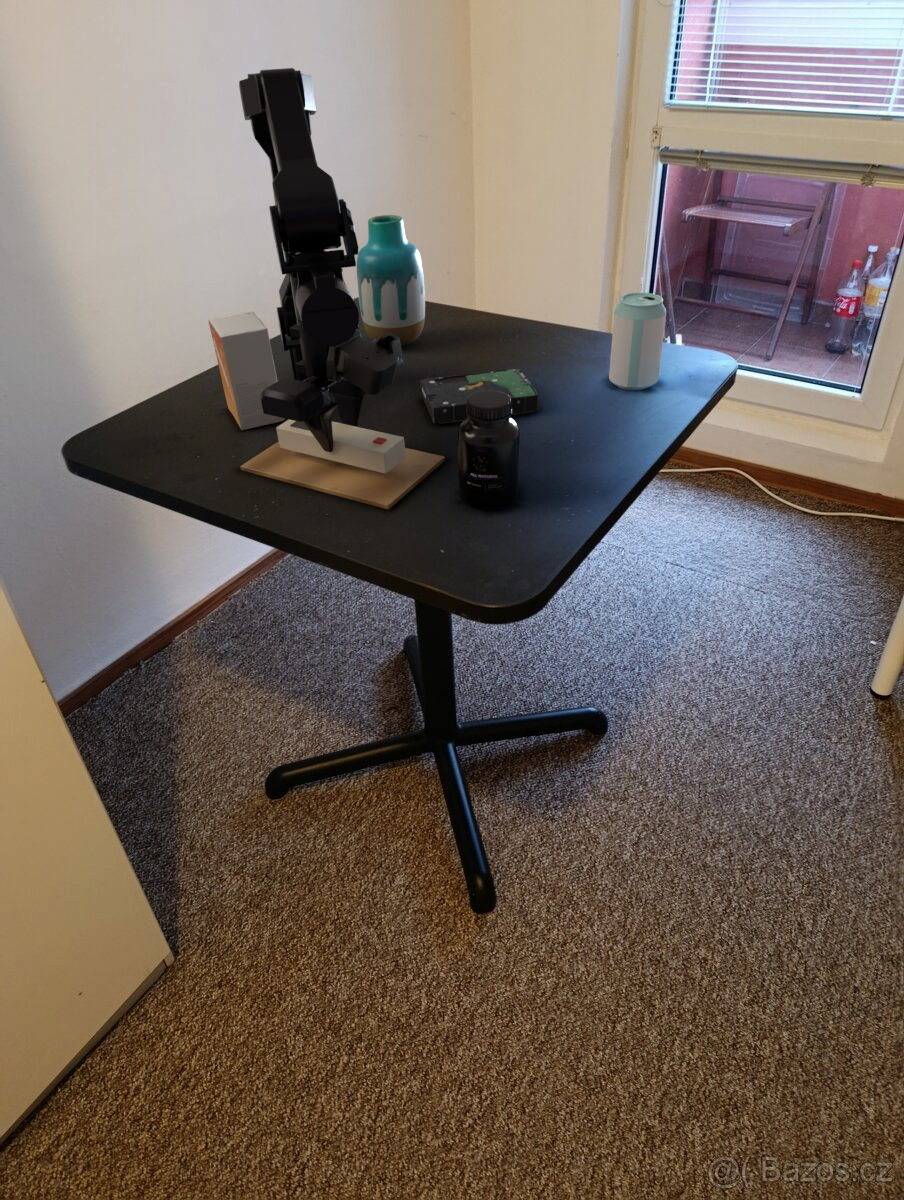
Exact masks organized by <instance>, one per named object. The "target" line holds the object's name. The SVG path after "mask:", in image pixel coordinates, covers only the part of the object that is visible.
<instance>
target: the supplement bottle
mask: <svg viewBox="0 0 904 1200" xmlns="http://www.w3.org/2000/svg"><path fill="white" fill-rule="evenodd" d="M466 416H467V418H466V419H465V420H464V421H461V423H460V425H459V426H458V429H457V458H458V459H457V462H458V463H457V464H458V494H459V498H460V500H461V501H462V502H463V503H464V504H465V505H466V506H468V507H470V508H473V509H475V510H481V511H496V510H501V509H504V508H507V507H508V506H510V505H512V504H513V503H515V501H516V499H517V497H518V494H519V473H520V444H521V443H520V441H521V433H520V432H521V430H520V427H519V424H518V423H517V422H516V421H515V419H513V418H512V416H513V415H512V410H511V398H510V396H508V395H507V394H505V393H503V392H499V391H480V392H476V393H474V394H472V395H470V396H469V397H468V398H467V410H466Z"/></svg>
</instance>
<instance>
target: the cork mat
mask: <svg viewBox="0 0 904 1200" xmlns="http://www.w3.org/2000/svg"><path fill="white" fill-rule="evenodd" d="M405 457H406V458H405V459H404V460H403V461H401V462H400V463H399V464H398V465H396V466H395V467H394V468H393V469H391V470H390V471H389V472H388V473H387V474H385V473H381V472H376V471H372V470H368V469H364V468H360V467H356V466H352V465H348V464H344V463H340V462H336V461H332V460H328V459H324V458H320V457H316V456H312V455H308V454H303V453H299V452H295V451H291V450H287V449H283V448H280V445H279V440H278V441H277V442H275V443H273V444H272V445H271V446H269V447H268V448H266V449H265V450H263V451H260V453H258V454H257V455H255V456H254V457H252V458H250V459H249V460H247V461H246V462H244V463H243V464H242V465H240V466H239V467H240V471H242V472H246V473H250V474H253V475H258V476H262V477H265V478H269V479H272V480H276V481H280V482H283V483H288V484H291V485H295V486H298V487H302V488H306V489H310V490H314V491H316V492H321V493H324V494H329V495H333V496H335V497H340V498H343V499H346V500H350V501H351V500H352V501H355V502H359V503H362V504H365V505H369V506H373V507H378V508H380V509H385V510H390V509H391V508H392V507H393V506H394V505H396V504H397V503H398V502H399V501H401V500H402V498H404V497H405V496H406V495H407V494H409V492H411V491H412V490H413V489H414V488H415V487H416V486H417V485H419V484H420V483H421V482H422V481H424V479H426V478H427V477H428V476H429V475H430V474H431V473H433V472H434V471H435V470H436V469H437V468H438V467H439V466H440V465H442V464H443V463H444V462H445V461H446V457H445V456H443V455H440V454H435V453H430V452H426V451H421V450H417V449H412V448H408V447H405Z"/></svg>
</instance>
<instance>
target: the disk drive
mask: <svg viewBox="0 0 904 1200" xmlns="http://www.w3.org/2000/svg"><path fill="white" fill-rule="evenodd" d="M480 391H499V392H503V393H505V394H507V395H508V396H510V398H511V410H512V416H515V415H521V414H526V413H527V414H528V413H534V412H538V411H539V403H540V394H539V392H538V391H537V390H536V389H535V388H534V386H533V384H532V382H531V381H530V380H528V379H527V377H526V376H525V375H524V372H522V369H520V368H517V369H515V368H512V369H498V370H493V371H491V370H490V371H482V372H474V373H473V372H472V373H465V374H457V375H448V376H441V377H438V376H437V377H430V378H425V379H420V393H421V394H420V395H421V397H422V400H423V402H424V404H425V407H426V409H427V411H428V414H429V417H430V419H431V420H432V423H433V424H439V425H440V424H441V425H442V424H450V423H458V422H463V421H464V420H465V419H466V418H467V416H466V410H467V398H468V397H469V396H470V395H472V394H474V393H476V392H480Z"/></svg>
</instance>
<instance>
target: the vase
mask: <svg viewBox="0 0 904 1200" xmlns="http://www.w3.org/2000/svg"><path fill="white" fill-rule="evenodd" d="M367 231H368V234H367V235H368V236H367V237H368V239H367V243H366V245H364V246H363V247H362V248H360V249H359V250H358V255H356V256H357V257H356V284H357V292H358V294H357V295H358V302H359V303H358V304H359V309H360V315H361V320H362V323H363V328H364V330H365V332H366V334H367V336H368V338H371V339H372V338H374V339H377V340H379V339H380V338H382V337H383V336H385V335H386V334H388V333H392V334H394V335H395V336H397V337H399V338H400V343H401V346H404V345H409V344H411V343H413V342H414V341H416V340H417V339H419V337H420V336H421V334H422V332H423V330H424V326H425V321H426V320H425V319H426V292H425V290H426V289H425V278H424V269H423V262H422V257H421V253H420V251H419V249H418V247H417V246H416V245H415V244H413V243H411V242H409V241H408V239H407V237H406V232H405V231H406V230H405V225H404V219H403V217H402V216H400V215H395V214H382V215H376V216H373V217H370V218H369V219H368V221H367Z"/></svg>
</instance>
